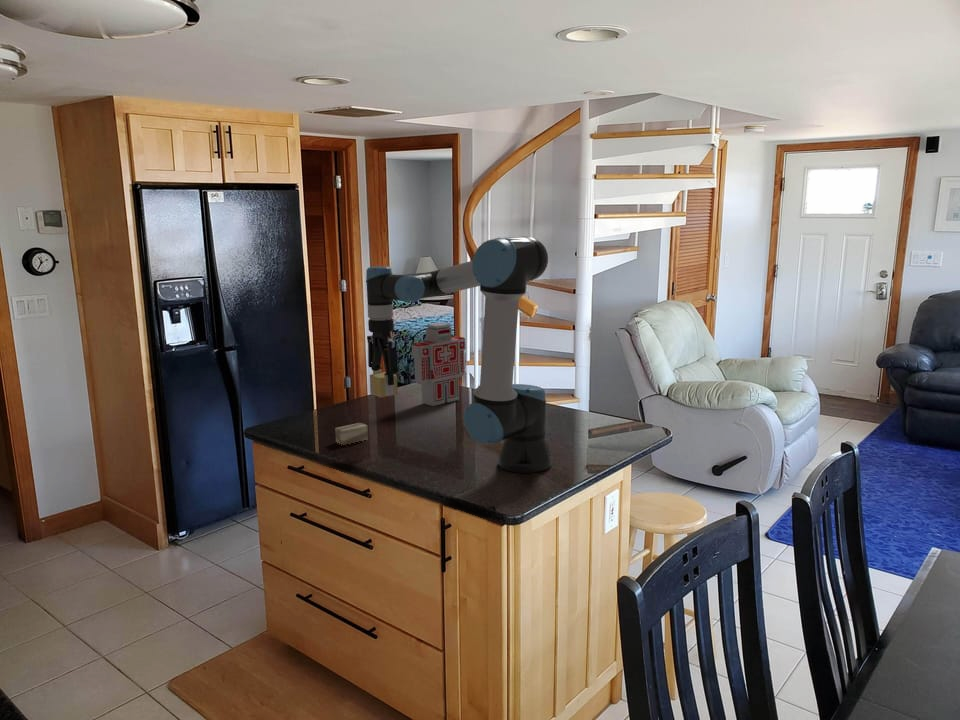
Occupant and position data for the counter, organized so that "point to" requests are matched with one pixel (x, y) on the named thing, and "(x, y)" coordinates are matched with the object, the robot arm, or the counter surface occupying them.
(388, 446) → the counter surface
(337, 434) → the birch plinth
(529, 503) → the counter surface
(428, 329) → the toy
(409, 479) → the counter surface
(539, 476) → the counter surface
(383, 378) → the ochre cube
